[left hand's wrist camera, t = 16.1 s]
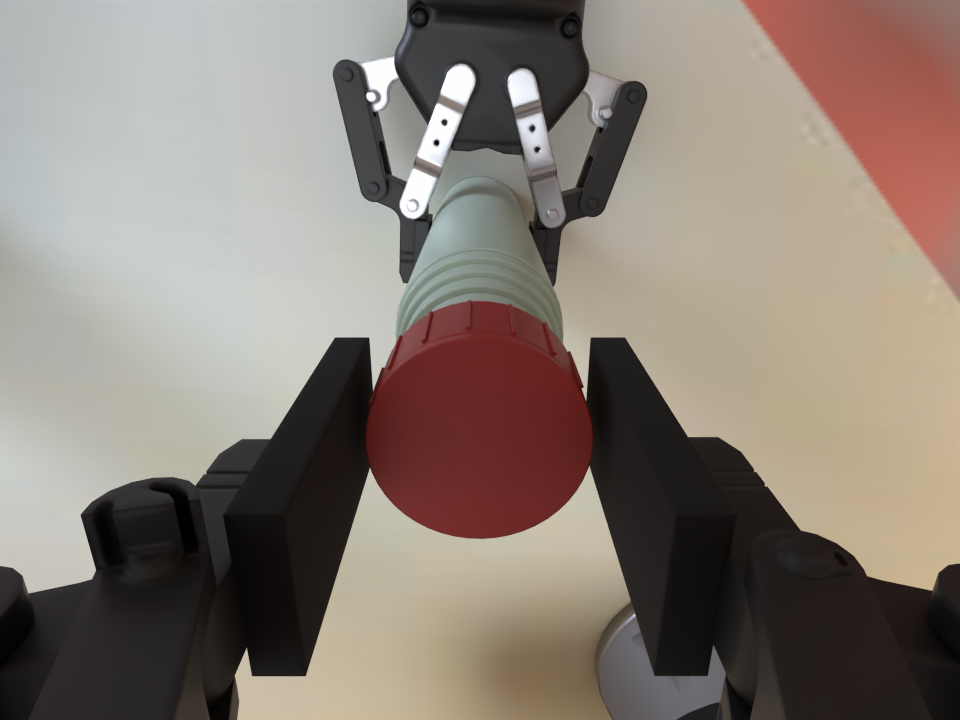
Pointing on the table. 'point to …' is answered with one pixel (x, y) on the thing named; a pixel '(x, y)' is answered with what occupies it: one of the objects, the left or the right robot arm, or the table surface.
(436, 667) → the table surface
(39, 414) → the table surface
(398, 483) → the cap
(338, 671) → the table surface
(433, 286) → the bottle
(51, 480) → the table surface
